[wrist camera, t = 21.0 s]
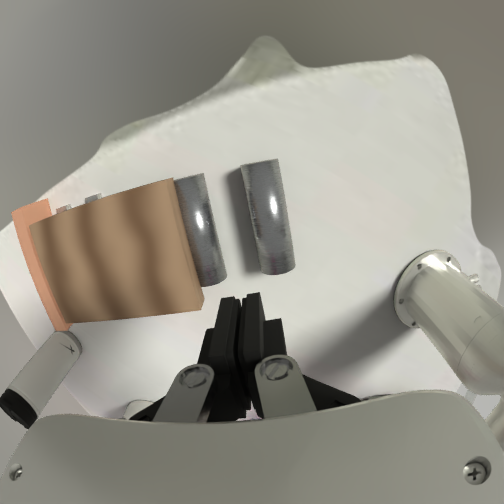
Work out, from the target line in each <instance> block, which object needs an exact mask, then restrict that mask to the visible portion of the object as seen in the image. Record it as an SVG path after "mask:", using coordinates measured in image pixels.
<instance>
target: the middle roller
mask: <svg viewBox="0 0 504 504" xmlns="http://www.w3.org/2000/svg"><path fill="white" fill-rule="evenodd" d="M174 186H175V190H176V194H177V199H178V203H179V207H180V211H181V215H182V219H183V223H184V227H185V231H186V235H187V239H188V243H189V246H190V250H191V254H192V258H193V261H194V265H195V268H196V272H197V276H198V279H199V283H200V286H201V287H207V286H212V285H215V284H218V283H220V282H222V281H223V280H225V279H226V277H227V273H226V269H225V265H224V260H223V256H222V252H221V248H220V244H219V239H218V235H217V231H216V227H215V222H214V218H213V213H212V209H211V205H210V200H209V196H208V191H207V187H206V182H205V177H204V173H202V174H197V175H192V176H188V177H184V178H180V179H177V180H174Z"/></svg>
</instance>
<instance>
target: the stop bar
mask: <svg viewBox="0 0 504 504" xmlns="http://www.w3.org/2000/svg"><path fill="white" fill-rule="evenodd" d="M11 213H12V217H13V221H14V225H15V228H16V232H17V235H18V239H19V242H20V245H21V248H22V251H23V254H24V257H25V260H26V263H27V266H28V269H29V271H30V274H31V277H32V279H33V282H34V284H35V287H36V289H37V291H38V294H39V296H40V298H41V301H42V303H43V305H44V307H45V310H46V312H47V314H48V316H49V318H50V320H51V322H52V324H53V326H54V328H55V330H56V331H67V330H68V329H69V328H70V326H71V325H72V324H73V323H67V324H66V322H65V320H64V318H63V316H62V314H61V311H60V309H59V307H58V305H57V303H56V300H55V298H54V296H53V293H52V291H51V289H50V286H49V284H48V281H47V279H46V276H45V273H44V271H43V268H42V265H41V262H40V260H39V257H38V254H37V251H36V248H35V245H34V242H33V238H32V235H31V232H30V228H29V225H31V224H33V223H36V222H38V221H40V220H43V219H45V218H48V217H50V216H52V214H51V210H50V206H49V202H48V198H47V199H44V200H41V201H38V202H35V203H32V204H29V205H26V206H23V207H21V208H19V209H17V210H15V211H13V212H11Z"/></svg>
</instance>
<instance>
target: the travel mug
mask: <svg viewBox="0 0 504 504" xmlns="http://www.w3.org/2000/svg"><path fill="white" fill-rule="evenodd" d="M81 353H82V348H81V345H80V343H79V341H78V340H77V338H76V337H75V336H74V335H73V334H72V333H70V332H69V331H55V332H54V333H53V334H52V336H51V337H50V338H49V339H48V340H47V341H46V342H45V343H44V344H43V346H42V347H41V348H40V349H39V350H38V351H37V353H36V354H35V355H34V356H33V357H32V358H31V359H30V360H29V362H28V363H27V364H26V365H25V367H24V368H23V369H22V370H21V371H20V372H19V374H18V375H17V376H16V377H15V379H14V380H13V381H12V382H11V384H10V385H9V387H7V389H6V391H5V393H3V394H2V396H1V397H0V407H1V408H2V409H3V410H4V412H5V413H6V414H7V415H9V416H10V417H11V418H12V419H13V420H15V421H18V422H19V423H20V424H22V425H23V426H24V427H25V428H27V429H29V428H30V427H31V426H32V424H33V423H34V422H35V421H36V419H38V417H39V415H40V414H41V412H42V411H43V409H44V407H45V406H46V404H47V403H48V401H49V400H50V398H51V397H52V395H53V394H54V392H55V391H56V389H57V388H58V386H59V385H60V383H61V382H62V381H63V379H64V378H65V376H66V375H67V373H68V372H69V370H70V369H71V368H72V366H73V365H74V363H75V362H76V361H77V359H78V358H79V356H80V355H81Z"/></svg>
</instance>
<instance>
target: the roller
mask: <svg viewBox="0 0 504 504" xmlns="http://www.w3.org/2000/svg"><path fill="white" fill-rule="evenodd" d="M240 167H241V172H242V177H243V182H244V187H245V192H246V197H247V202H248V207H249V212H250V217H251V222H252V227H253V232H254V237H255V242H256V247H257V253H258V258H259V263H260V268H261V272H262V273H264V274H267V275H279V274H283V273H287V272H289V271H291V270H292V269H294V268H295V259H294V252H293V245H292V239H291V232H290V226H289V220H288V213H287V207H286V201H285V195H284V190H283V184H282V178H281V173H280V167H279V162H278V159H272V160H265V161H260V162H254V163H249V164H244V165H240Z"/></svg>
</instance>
